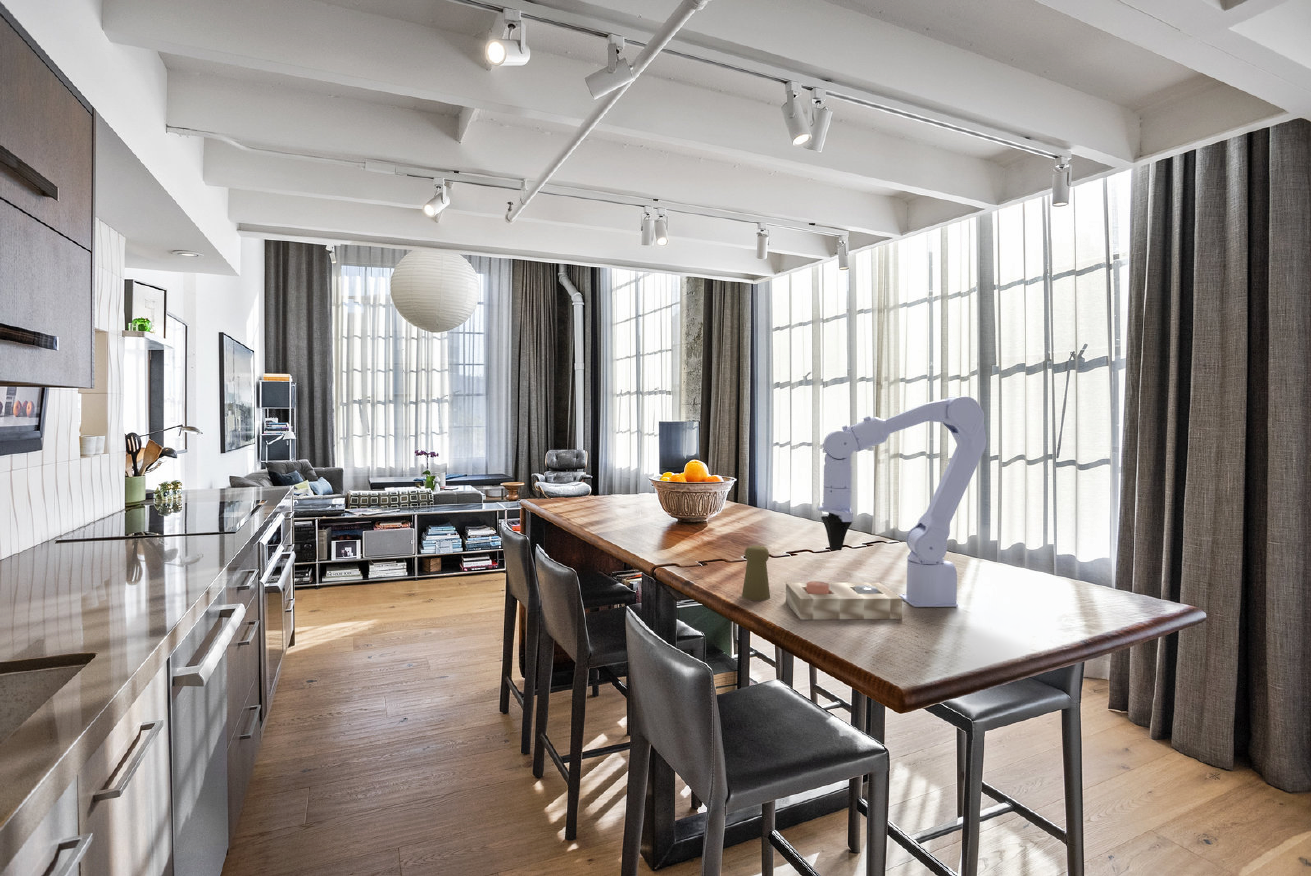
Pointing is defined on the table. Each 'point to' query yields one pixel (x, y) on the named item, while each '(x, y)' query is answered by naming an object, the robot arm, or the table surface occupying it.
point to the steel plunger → (866, 589)
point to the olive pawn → (756, 573)
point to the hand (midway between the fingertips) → (835, 549)
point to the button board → (844, 602)
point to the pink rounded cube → (817, 587)
